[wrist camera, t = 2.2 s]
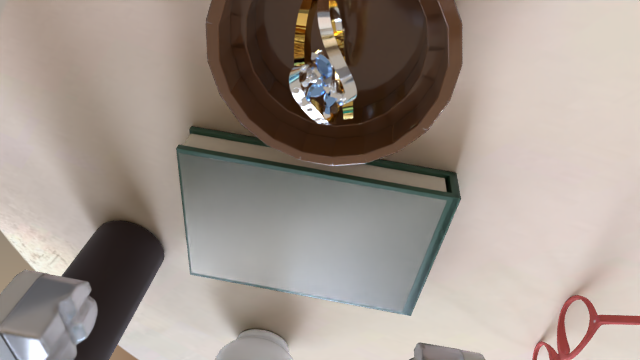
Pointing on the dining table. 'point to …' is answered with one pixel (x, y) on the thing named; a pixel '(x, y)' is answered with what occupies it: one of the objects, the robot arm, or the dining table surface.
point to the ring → (322, 64)
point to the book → (312, 221)
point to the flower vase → (255, 347)
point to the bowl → (362, 61)
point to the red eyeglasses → (595, 322)
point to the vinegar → (115, 281)
